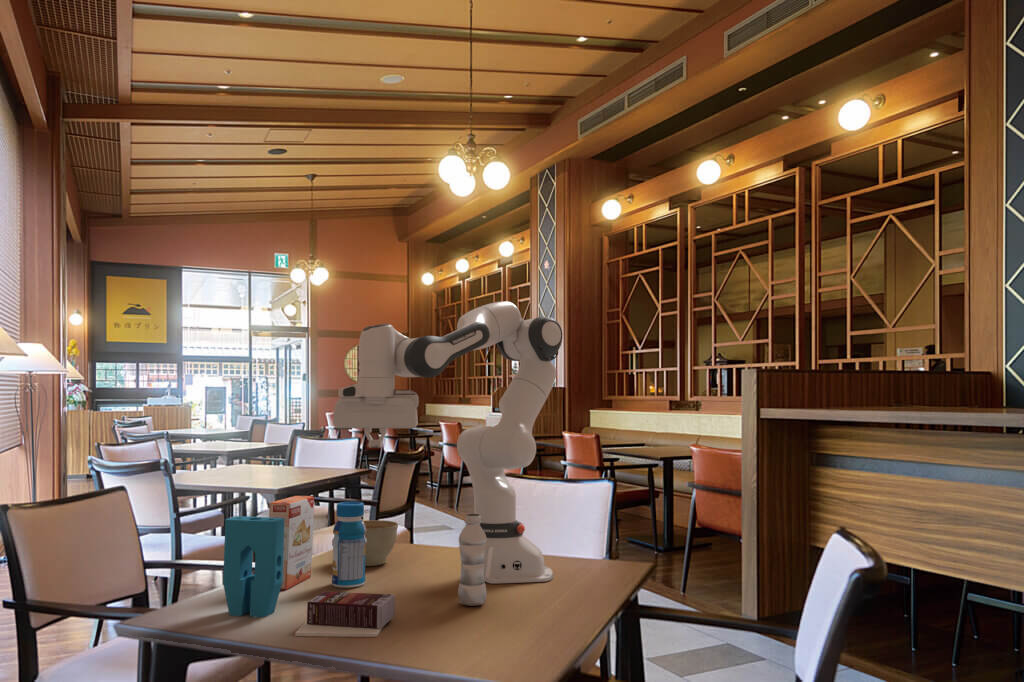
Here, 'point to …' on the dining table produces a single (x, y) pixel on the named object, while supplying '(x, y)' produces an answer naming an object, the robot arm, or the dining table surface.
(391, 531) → the planter bowl
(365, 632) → the felt mat
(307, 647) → the dining table surface
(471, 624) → the dining table surface
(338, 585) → the beverage bottle
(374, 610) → the supplement box
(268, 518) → the block
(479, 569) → the plastic bottle
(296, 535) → the cracker box
